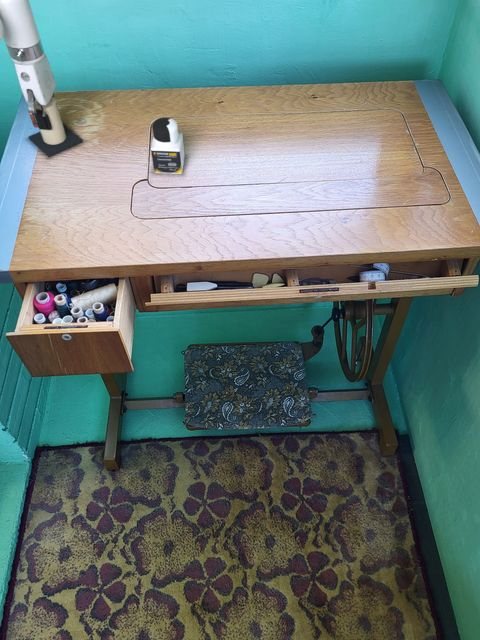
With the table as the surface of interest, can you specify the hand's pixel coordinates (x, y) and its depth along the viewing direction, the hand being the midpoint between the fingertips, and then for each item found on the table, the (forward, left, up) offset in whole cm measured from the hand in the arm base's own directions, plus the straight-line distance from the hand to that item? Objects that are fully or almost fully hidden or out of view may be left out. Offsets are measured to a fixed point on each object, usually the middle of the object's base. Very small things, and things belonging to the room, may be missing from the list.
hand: (49, 120), depth 134 cm
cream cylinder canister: (0, 0, -5) cm, 5 cm away
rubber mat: (0, 0, -6) cm, 6 cm away
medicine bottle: (+17, -27, -6) cm, 32 cm away
